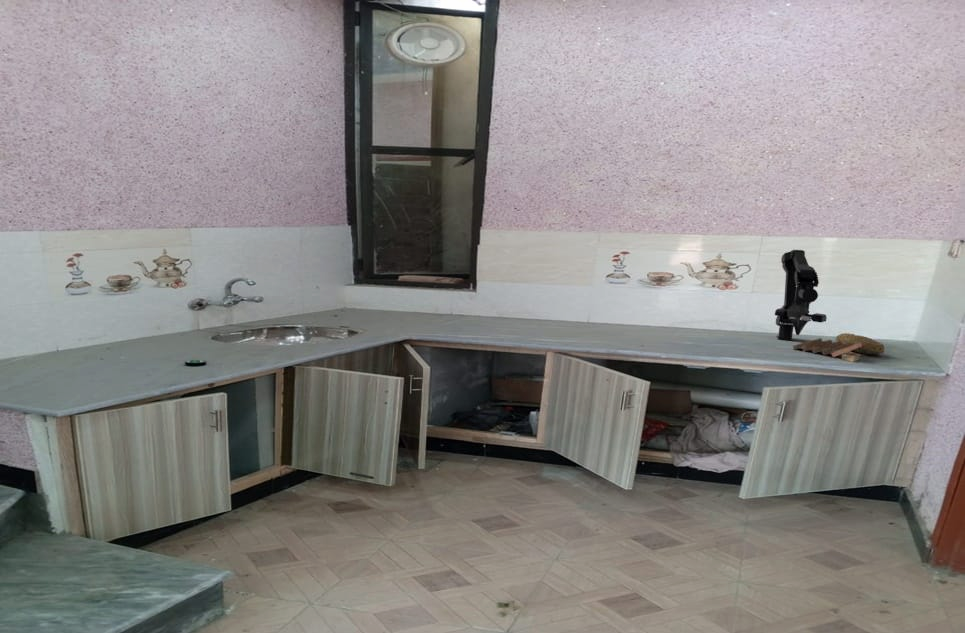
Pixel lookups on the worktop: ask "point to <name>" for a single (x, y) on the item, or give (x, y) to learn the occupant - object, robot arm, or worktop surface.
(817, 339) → the brown rectangular block
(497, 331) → the worktop surface
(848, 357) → the stop block
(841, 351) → the domino
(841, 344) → the domino
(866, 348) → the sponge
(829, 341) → the domino
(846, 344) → the domino
